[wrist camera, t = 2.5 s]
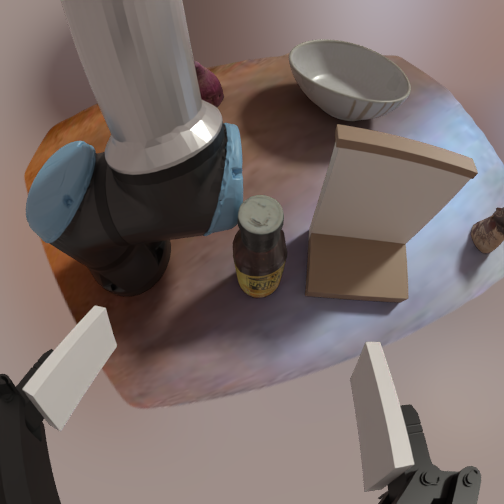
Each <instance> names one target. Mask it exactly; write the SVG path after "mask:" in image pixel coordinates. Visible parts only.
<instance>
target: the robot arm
mask: <svg viewBox="0 0 504 504" xmlns="http://www.w3.org/2000/svg"><path fill="white" fill-rule="evenodd" d="M61 3H62V6H63V10H64V13H65V16H66V19H67V23H68V26H69V29H70V32H71V35H72V38H73V40H74V43H75V46H76V49H77V51H78V55H79V57H80V60H81V63H82V65H83V68H84V71H85V73H86V76H87V78H88V81H89V83H90V86H91V88H92V91H93V93H94V95H95V98H96V100H97V103H98V105H99V107H100V110H101V112H102V114H103V116H104V119H105V121H106V123H107V125H108V128H109V130H110V132H111V136H110V138H109V141H108V143H107V145H106V148H105V152H102V153H95V149H94V148H93V146H91V145H89V144H86V143H85V142H83V141H75V142H71V143H69V144H67V145H65V146H63V147H62V148H60V149H59V150H58V151H57V152H55V153H54V154H53V155H52V156H51V157H50V158H49V159H48V160H47V162H46V163H45V164H44V165H43V167H42V168H41V170H40V171H39V173H38V174H37V176H36V178H35V179H34V181H33V183H32V186H31V188H30V191H29V194H28V198H27V203H26V217H27V221H28V223H29V226H30V228H31V229H32V230H33V231H34V232H35V233H36V234H37V235H38V236H39V237H41V238H42V240H43V241H45V242H46V243H50V244H51V245H53V246H54V247H56V248H58V249H59V250H61V251H62V252H64V253H65V254H67V255H69V256H70V257H72V258H74V259H75V260H77V261H79V262H80V263H82V264H84V265H85V266H87V267H88V268H89V270H90V272H91V273H92V275H93V276H94V278H95V280H96V281H97V282H98V283H99V284H100V285H101V286H102V287H103V288H104V289H106V290H108V291H110V292H112V293H114V294H116V295H120V296H134V295H138V294H141V293H143V292H145V291H146V290H148V289H150V288H151V287H152V286H153V285H154V284H155V283H156V282H157V281H158V280H159V279H160V278H161V276H162V275H163V273H164V271H165V270H166V267H167V265H168V262H169V259H170V253H171V243H170V240H172V239H180V238H187V237H195V236H202V235H203V236H208V235H210V234H211V233H214V232H219V231H224V230H229V229H232V228H233V227H235V226H236V225H237V224H238V210H239V207H240V206H241V204H242V203H243V177H242V148H241V139H240V133H239V129H238V127H237V126H236V125H234V124H229V123H224V124H223V121H222V115H221V113H220V111H219V110H218V108H216V107H215V106H214V105H212V104H210V103H208V102H206V101H204V100H202V99H201V95H200V90H199V85H198V80H197V75H196V70H195V65H194V60H193V55H192V50H191V45H190V39H189V34H188V29H187V24H186V18H185V13H184V7H183V2H182V0H61ZM116 347H117V344H116V341H115V338H114V335H113V332H112V328H111V325H110V321H109V318H108V314H107V311H106V308H104V307H100V306H96V305H95V306H94V307H93V308H92V309H91V310H90V311H89V312H88V313H87V314H86V315H85V316H84V318H83V319H82V320H81V321H80V322H79V323H78V324H77V325H76V326H75V327H74V329H73V330H72V331H71V332H70V333H69V334H68V335H67V336H66V338H64V340H63V341H62V342H61V343H60V344H59V346H57V348H56V349H55V350H52V349H51V350H49V351H47V352H46V353H44V354H43V355H42V356H41V357H40V359H39V360H38V362H37V363H35V364H34V366H33V368H31V369H30V370H29V372H28V373H27V374H26V375H25V377H24V378H23V379H22V380H21V381H20V383H19V384H18V385H17V386H16V387H15V385H14V384H13V382H12V381H11V379H10V378H9V377H8V376H7V375H5V374H0V504H61V502H60V499H59V496H58V492H57V489H56V485H55V481H54V477H53V473H52V468H51V464H50V459H49V454H48V448H47V442H46V435H45V429H44V424H43V422H42V421H43V419H45V420H46V421H47V422H48V424H49V425H51V426H52V427H54V428H56V429H57V430H59V431H61V430H62V429H63V427H64V426H65V424H66V422H67V421H68V419H69V418H70V416H71V414H72V413H73V411H74V410H75V408H76V406H77V405H78V403H79V402H80V400H81V399H82V397H83V396H84V394H85V392H86V391H87V389H88V388H89V386H90V385H91V383H92V382H93V380H94V379H95V377H96V376H97V374H98V373H99V371H100V370H101V368H102V367H103V366H104V364H105V363H106V361H107V360H108V358H109V357H110V355H111V354H112V353H113V351H114V350H115V348H116ZM350 382H351V387H352V394H353V400H354V406H355V413H356V419H357V427H358V434H359V442H360V450H361V459H362V469H363V480H364V491H365V492H367V491H374V490H380V489H383V488H384V487H385V486H386V485H388V491H387V492H385V493H384V494H382V495H381V496H380V497H379V499H381V498H382V499H381V501H380V502H379V503H378V504H477V500H478V495H479V490H480V483H481V474H480V472H479V470H478V469H477V468H476V467H473V466H468V467H465V468H464V469H462V470H461V471H460V472H450V471H449V472H448V471H441V470H440V469H439V468H438V467H437V466H435V465H433V464H432V462H431V460H430V456H429V452H428V448H427V444H426V440H425V437H424V433H423V429H422V426H421V425H420V423H421V422H420V419H419V416H418V413H417V412H416V410H415V409H414V408H413V406H412V405H402V406H400V404H399V400H398V397H397V393H396V390H395V386H394V383H393V380H392V377H391V374H390V370H389V368H388V364H387V362H386V358H385V355H384V352H383V349H382V347H381V344H380V342H365V345H364V347H363V350H362V352H361V355H360V357H359V360H358V363H357V365H356V367H355V369H354V372H353V374H352V376H351V378H350Z"/></svg>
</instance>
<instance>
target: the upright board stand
mask: <svg viewBox="0 0 504 504" xmlns="http://www.w3.org/2000/svg"><path fill="white" fill-rule="evenodd" d="M335 139H336V142H335V146H334V149H333V153H332V156H331V160H330V163H329V167H328V170H327V173H326V177H325V180H324V183H323V187H322V190H321V193H320V196H319V200H318V203H317V206H316V209H315V212H314V216H313V219H312V222H311V225H310V228H309V241H308V260H307V276H306V290H305V296H312V297H324V298H337V299H350V300H365V301H381V302H399V303H400V302H402V301H404V300H407V299H408V274H407V258H406V246H405V244H406V243H407V242H408V241H409V240H410V239H411V238H412V237H414V236H415V235H416V234H417V233H418V232H419V231H420V230H421V229H422V228H423V227H424V226H425V225H426V224H427V223H428V222H429V221H430V220H431V219H432V218H433V217H434V216H435V215H436V214H437V213H438V212H439V211H440V210H441V209H442V208H443V207H444V206H445V205H446V204H447V203H448V202H449V201H450V200H451V199H452V198H453V197H454V196H455V195H456V194H457V193H458V192H459V191H460V190H461V189H462V188H463V186H464V185H465V184H466V183H467V182H468V181H469V180H470V179H473V178H474V177H475V176H476V175H477V174H478V172H477V169H476V166H475V164H474V161H473V159H472V158H469V157H466V156H463V155H461V154H458V153H455V152H452V151H449V150H446V149H443V148H439V147H436V146H433V145H429V144H426V143H422V142H419V141H415V140H411V139H408V138H404V137H400V136H395V135H391V134H387V133H382V132H378V131H373V130H368V129H363V128H357V127H352V126H346V125H340V124H337V127H336V131H335Z"/></svg>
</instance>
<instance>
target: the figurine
mask: <svg viewBox="0 0 504 504" xmlns="http://www.w3.org/2000/svg"><path fill="white" fill-rule="evenodd" d="M471 236H472V240H473V242H474V244H475V246H476V247H477V248H478V249H479V250H480V251H481V252H482V253H490V252H492V251H493V250H495V249H496V248H497V247H498V246H499V245H500V244H501V243H502V242H503V240H504V208H496V211H495V212H494V213H493V215H492V216H490V217H488V218H486V219H484V220H482V221H479V222H477V223H476V224H474V225H473V227H472V231H471Z"/></svg>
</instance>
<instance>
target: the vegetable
mask: <svg viewBox="0 0 504 504" xmlns="http://www.w3.org/2000/svg"><path fill="white" fill-rule="evenodd" d="M194 65H195V70H196V75H197V80H198V85H199V90H200V95H201V99H202V100H204V101H206V102H208V103H210V104H212V105H214V106H215V107H218V106H219V105H220V103H221V102H222V100H223V98H224V95H223V90H222V87H221V84H220V82H219V80H218V78H217V77H216V76H215V75H214V74H213V73H212V72H211V71H209V70H208V69H206V68H205V67H203V66H202V65H201V64H199V63H198V62H196V61H194Z"/></svg>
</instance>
